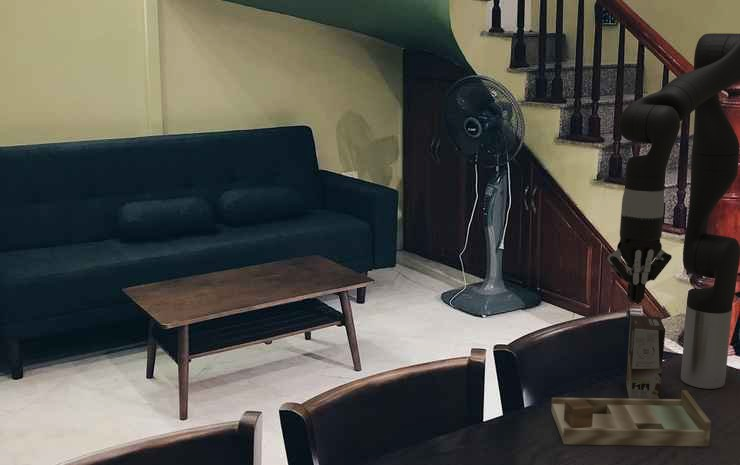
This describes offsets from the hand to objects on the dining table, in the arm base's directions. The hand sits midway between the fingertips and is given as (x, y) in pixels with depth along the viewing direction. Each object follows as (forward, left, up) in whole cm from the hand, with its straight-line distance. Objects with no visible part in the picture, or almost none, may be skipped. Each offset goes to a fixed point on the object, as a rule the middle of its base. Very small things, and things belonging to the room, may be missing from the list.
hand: (635, 301), depth 167 cm
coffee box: (-16, +7, -26) cm, 31 cm away
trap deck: (+1, -1, -26) cm, 26 cm away
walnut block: (+3, -10, -24) cm, 26 cm away
